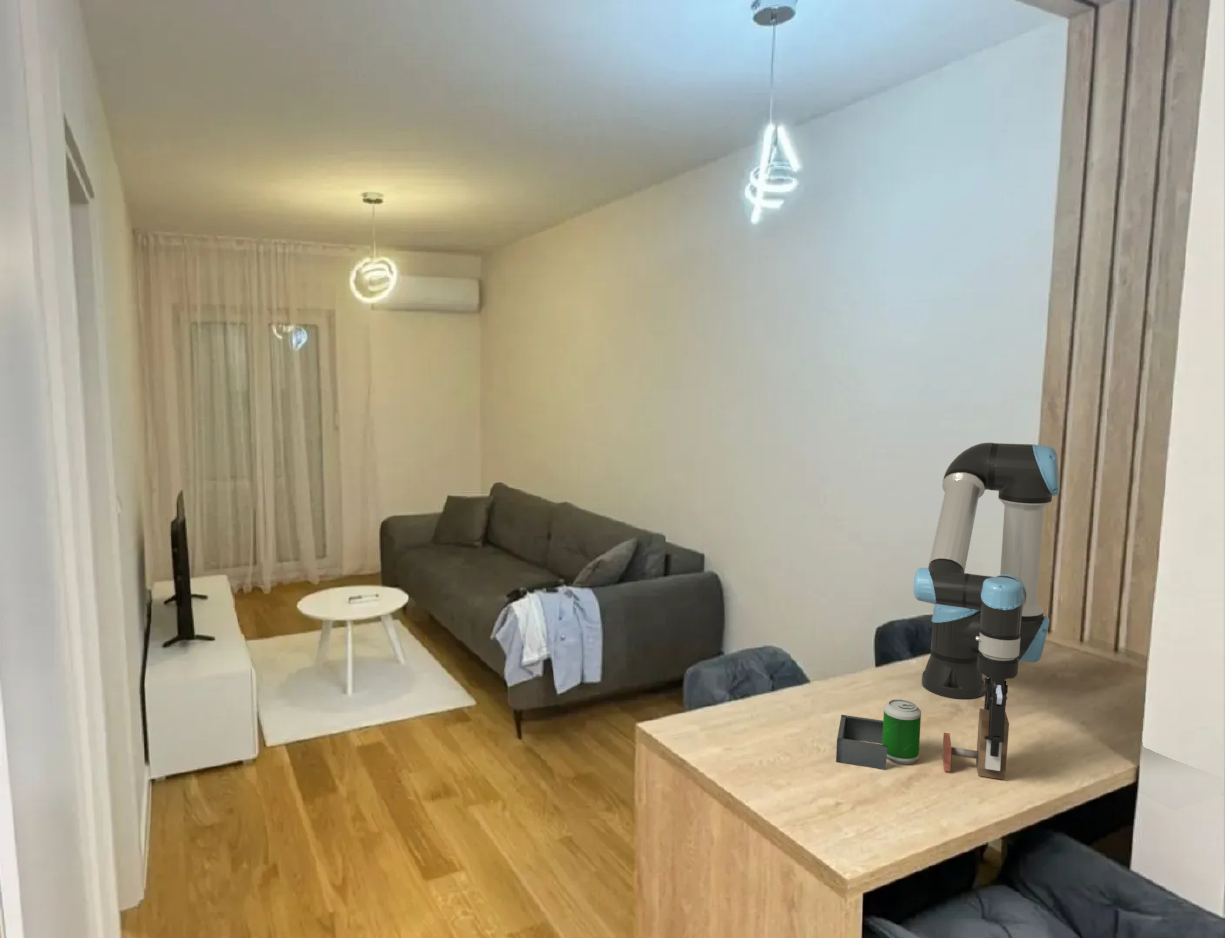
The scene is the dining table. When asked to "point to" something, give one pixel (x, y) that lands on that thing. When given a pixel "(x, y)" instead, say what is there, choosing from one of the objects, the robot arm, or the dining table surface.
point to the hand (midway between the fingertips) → (990, 761)
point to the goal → (859, 750)
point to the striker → (978, 748)
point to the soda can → (901, 731)
